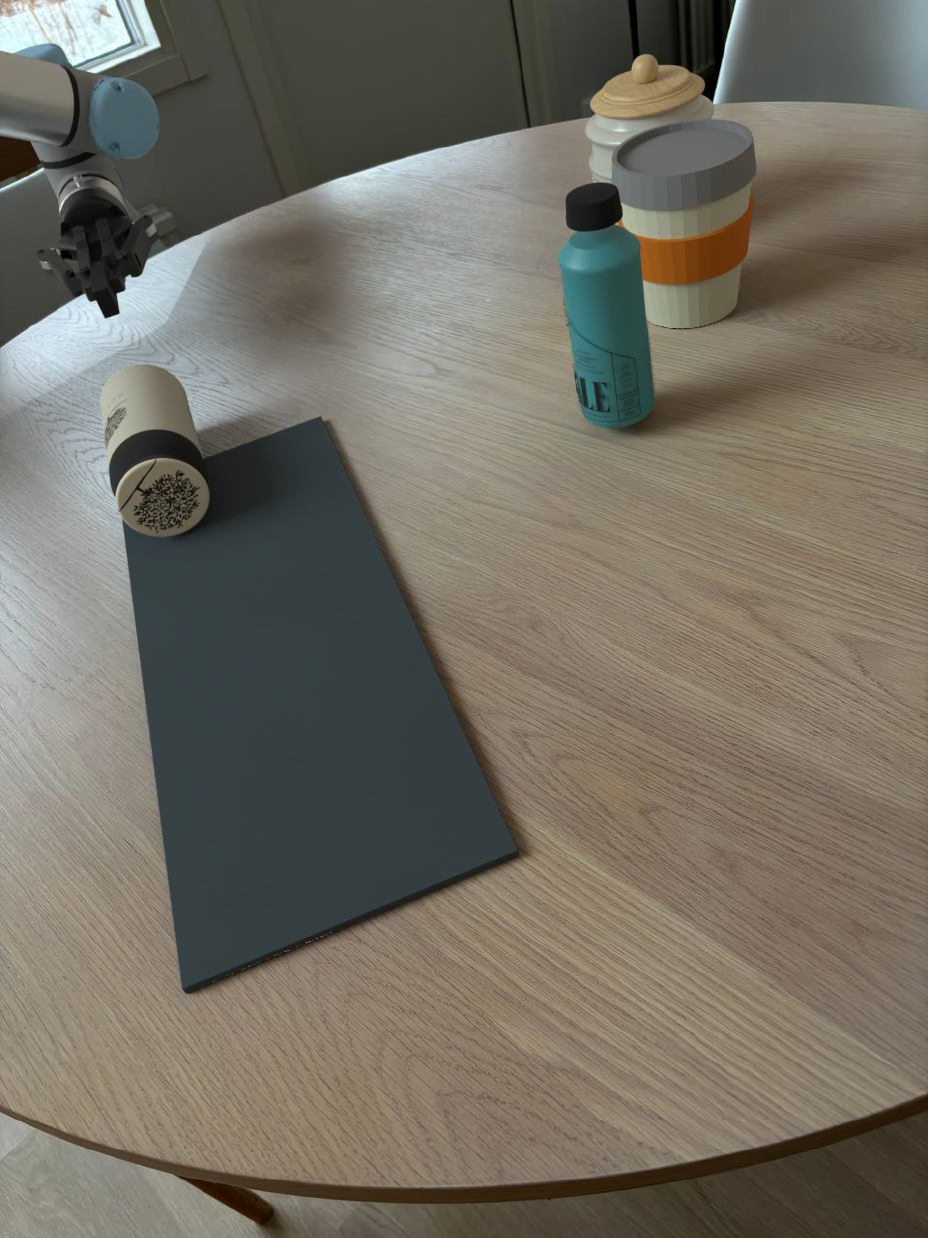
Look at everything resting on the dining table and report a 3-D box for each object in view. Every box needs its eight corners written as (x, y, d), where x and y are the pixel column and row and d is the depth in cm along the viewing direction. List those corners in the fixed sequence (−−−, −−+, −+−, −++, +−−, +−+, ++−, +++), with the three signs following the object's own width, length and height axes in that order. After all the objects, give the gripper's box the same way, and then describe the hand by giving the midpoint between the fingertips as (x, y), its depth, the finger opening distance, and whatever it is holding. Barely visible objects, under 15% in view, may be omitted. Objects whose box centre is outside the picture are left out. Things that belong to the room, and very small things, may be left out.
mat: (185, 994, 56) (181, 989, 56) (120, 493, 94) (117, 488, 94) (519, 855, 58) (518, 850, 58) (322, 420, 96) (320, 415, 96)
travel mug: (204, 397, 98) (232, 493, 85) (149, 453, 100) (169, 556, 87) (137, 345, 93) (157, 439, 80) (81, 405, 95) (91, 506, 82)
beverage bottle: (667, 403, 87) (649, 168, 73) (644, 448, 83) (620, 209, 69) (595, 398, 90) (565, 171, 76) (569, 442, 86) (533, 210, 72)
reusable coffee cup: (728, 345, 91) (723, 179, 81) (602, 331, 98) (583, 175, 87) (776, 278, 98) (777, 117, 88) (655, 269, 104) (644, 117, 94)
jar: (594, 216, 116) (574, 49, 104) (709, 194, 114) (702, 21, 102) (601, 267, 107) (580, 90, 95) (726, 245, 105) (721, 61, 93)
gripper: (21, 207, 110) (19, 289, 93) (136, 169, 111) (155, 243, 94) (54, 271, 115) (58, 360, 98) (164, 235, 116) (187, 316, 99)
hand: (106, 303), depth 96 cm, fingers closed
